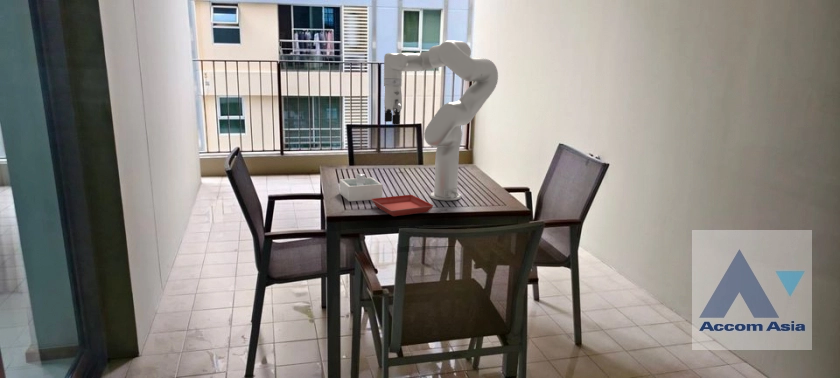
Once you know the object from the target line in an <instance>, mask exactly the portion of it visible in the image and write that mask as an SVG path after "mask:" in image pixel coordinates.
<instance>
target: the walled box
mask: <svg viewBox="0 0 840 378" xmlns="http://www.w3.org/2000/svg"><path fill="white" fill-rule="evenodd" d="M339 194H340V195H341V196H342V197H343V198H344V199H345V200H347V202H359V201H372V200H371V199H374V198H383V183H381V182H379V181H378V180H377V179H375V178H374V177H372V176H371V177H365V185H360V186H356V177H355V178H342V179H341V178H340V179H339Z"/></svg>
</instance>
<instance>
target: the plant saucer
mask: <svg viewBox="0 0 840 378" xmlns="http://www.w3.org/2000/svg"><path fill="white" fill-rule="evenodd" d="M370 201H372V203H373V204H374V205H375V206H376V207H377V208H378V209H380V210H381V211H384V212H385V213H386V214H388V215H390V216H392V217H397V216H407V215H414V214H422V213H428V212H429V211H430V210H431V209H432V208H433V207H434V204H431V203H429V202H428V201H425V200H424V199H421V198H419V197H417V196H415V195H413V194H404V195H395V196H382V198H374V199H371V200H370Z"/></svg>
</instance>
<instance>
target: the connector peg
mask: <svg viewBox="0 0 840 378" xmlns="http://www.w3.org/2000/svg"><path fill="white" fill-rule="evenodd" d="M355 178H356V186H360V185H365V178H366V174H365V173H356V175H355Z"/></svg>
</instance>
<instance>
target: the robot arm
mask: <svg viewBox="0 0 840 378" xmlns="http://www.w3.org/2000/svg"><path fill="white" fill-rule="evenodd" d="M471 53H472V51H471V47H470V45H469V44H468V43H467V42H466V41H462V40H446V41H443V42H442V43H441V44H439V45H433V46H431V47H429V50H428V51H423V52H416V53H414V52H399V53H398V52H397V53H396V52H387V53H385V54H384V56H383V57H384V58H383V59H384V60H383V61H384V62H383V66H384V67H383V68H384V69H383V87H385V88H384V100H383V101H384V122H387V123H389V122H390V123H392V125H400V124H401V123H400V122H401V110H402V109H403V99H402V98H403V97H402V96H403V95H402V85H403V83H402V81H403V80H402V78H403V74H402V73H403V72H421V71H428V70H432V69H437V68H442V67H447V68H448V69H449V70H451V71H452V72H453V73H454V74H455V75H456V76H458V77H459V78H460V79H461V80H463V81H465V82H473V83H472V84H471V85H469V87H468V88H467V89H466V90H465V92H464V93H463V95H462V96H460V98H459V99H458V100H456V101H450V102H446V103H445V104H443V105H442V106H441V107H440V108H439V109H438V110H437V111H436V113H435V114H434V116H433V117H432V118H431V120H430V121H429V123H428V124H427V126H426V128H425V129H424V138H423V139H424V140H425V142H426V144H427V145H429V146H430V147H433V148H436V151H435V161H434V162H435V163H434V189H433V190H434V191H433V192H431V193H430V195H429V196H430V198H432V199H433V200H437V201H446V202H448V201H457V200H460V199H461V198H462V195H461V193H459V192H458V184H459V183H458V182H459V159H460V156H459V155H460V147H461V142H462V135H463V132H462V127H461V126H467V124H469V123H471V121H473V119H474V117H475V116H476V115H477V114H478V112H479V111H480V110H481V109H482V107H483V106H484V104H485V103H486V102H487V100H488V99H489V98H490V96H492V94H493V92H494V91H495V89H496V87H497V85H498V81H499V72H498V68H497V66H496V64H495V63H494V62H493V61H492V60H490V59H488V58H483V57H478V58H477V57H471V55H472V54H471Z"/></svg>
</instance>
